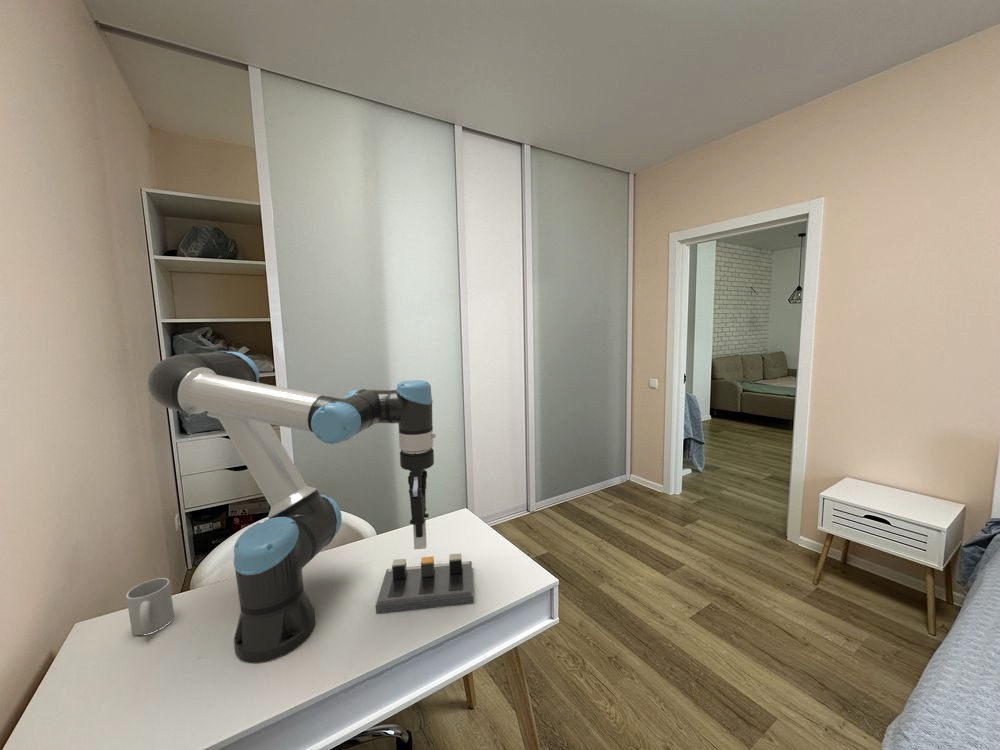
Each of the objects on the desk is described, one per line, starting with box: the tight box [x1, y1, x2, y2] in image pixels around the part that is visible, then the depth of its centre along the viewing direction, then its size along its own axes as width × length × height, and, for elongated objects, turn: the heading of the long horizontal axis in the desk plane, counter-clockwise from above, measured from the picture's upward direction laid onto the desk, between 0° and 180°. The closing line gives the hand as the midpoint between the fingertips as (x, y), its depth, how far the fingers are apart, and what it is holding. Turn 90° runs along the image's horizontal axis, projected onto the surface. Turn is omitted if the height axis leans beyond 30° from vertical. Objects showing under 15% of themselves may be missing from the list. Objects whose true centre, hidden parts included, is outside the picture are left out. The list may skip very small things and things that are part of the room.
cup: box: [125, 577, 175, 636], centre depth 88 cm, size 7×10×9 cm
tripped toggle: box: [420, 556, 435, 577], centre depth 100 cm, size 3×2×4 cm
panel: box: [375, 553, 475, 615], centre depth 98 cm, size 22×14×6 cm, turn 96°
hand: (420, 547), depth 93 cm, fingers closed
